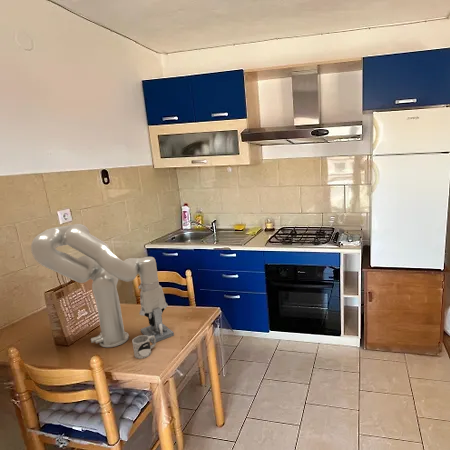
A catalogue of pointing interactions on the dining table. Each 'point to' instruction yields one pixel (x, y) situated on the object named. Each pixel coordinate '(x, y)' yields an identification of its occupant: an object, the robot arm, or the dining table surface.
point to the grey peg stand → (158, 332)
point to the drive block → (157, 319)
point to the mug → (143, 346)
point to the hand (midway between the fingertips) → (155, 323)
